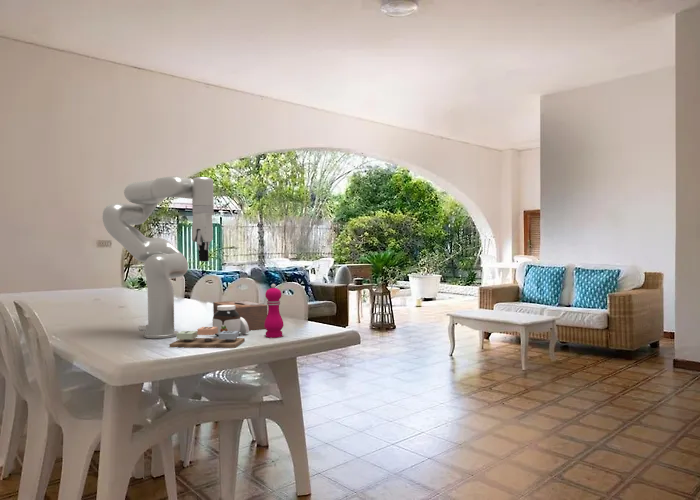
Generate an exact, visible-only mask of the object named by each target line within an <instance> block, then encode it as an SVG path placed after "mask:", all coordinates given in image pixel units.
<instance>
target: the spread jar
mask: <svg viewBox="0 0 700 500" xmlns="http://www.w3.org/2000/svg"><path fill="white" fill-rule="evenodd" d="M217 310H218V311H217V312H216V313H215V314H214V313H213V317H212V327H218V333H216V334H214V336H216V338H219V333H221V332H223V331H239V333H241V334H242V335H247V334H248V333H249V332H250V331H249V327H248V324H247V322H246V321H245V319H244V318H242V317H240V315H239V313H238V312H237V311H236V310H235V305H220V306H217Z"/></svg>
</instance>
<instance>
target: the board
mask: <svg viewBox="0 0 700 500" xmlns="http://www.w3.org/2000/svg"><path fill="white" fill-rule="evenodd" d="M244 342H246V341H245V337H237V338H236V339H219V337H196V338H194V339H176V340H175V341H173V342H171V343H169V347H184V348H185V349H186V348H189V349H190V348H195V349H199V348H200V349H203V348H204V349H206V348H207V349H235V348H238V347H239V346H241V345H242V344H243V343H244ZM169 347H168V348H169ZM184 348H183V349H184Z"/></svg>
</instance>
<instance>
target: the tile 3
mask: <svg viewBox="0 0 700 500" xmlns="http://www.w3.org/2000/svg"><path fill="white" fill-rule="evenodd" d="M239 333H240V332H239V331H223V332H221V333H219V337H218V338H219V339H236V338H240V337H239V336H240V335H239Z"/></svg>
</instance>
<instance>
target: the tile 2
mask: <svg viewBox="0 0 700 500" xmlns="http://www.w3.org/2000/svg"><path fill="white" fill-rule="evenodd" d="M196 329H197V328H196ZM196 331H197V332H198V336H215V334H216V333H218V327H213V326H201V327H200V328H198V329H197V330H196Z"/></svg>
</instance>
